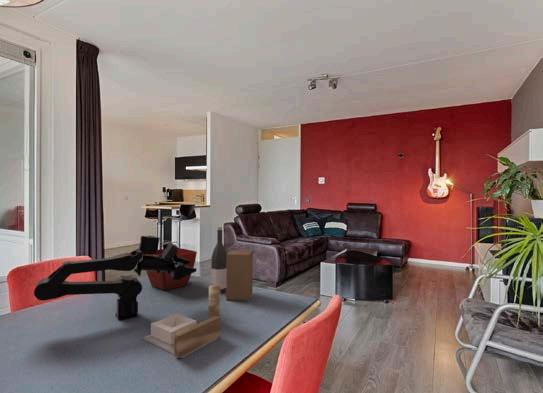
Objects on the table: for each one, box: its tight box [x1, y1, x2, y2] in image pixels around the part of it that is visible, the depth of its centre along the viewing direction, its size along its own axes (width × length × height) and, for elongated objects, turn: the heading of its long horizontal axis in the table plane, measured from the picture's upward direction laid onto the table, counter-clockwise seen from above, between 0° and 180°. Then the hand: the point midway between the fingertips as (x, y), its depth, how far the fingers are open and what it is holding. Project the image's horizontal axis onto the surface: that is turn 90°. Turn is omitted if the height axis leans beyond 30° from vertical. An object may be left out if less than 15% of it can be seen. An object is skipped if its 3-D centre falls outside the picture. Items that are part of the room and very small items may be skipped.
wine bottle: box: [210, 226, 228, 293], centre depth 144 cm, size 8×8×30 cm
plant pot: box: [145, 247, 198, 291], centre depth 150 cm, size 19×19×17 cm
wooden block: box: [225, 249, 254, 302], centre depth 135 cm, size 10×10×20 cm
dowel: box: [207, 284, 221, 319], centre depth 108 cm, size 4×4×13 cm
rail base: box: [142, 316, 221, 359], centre depth 95 cm, size 18×16×7 cm
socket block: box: [150, 313, 198, 345], centre depth 97 cm, size 10×10×4 cm
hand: (192, 266), depth 127 cm, fingers open, 9 cm apart
